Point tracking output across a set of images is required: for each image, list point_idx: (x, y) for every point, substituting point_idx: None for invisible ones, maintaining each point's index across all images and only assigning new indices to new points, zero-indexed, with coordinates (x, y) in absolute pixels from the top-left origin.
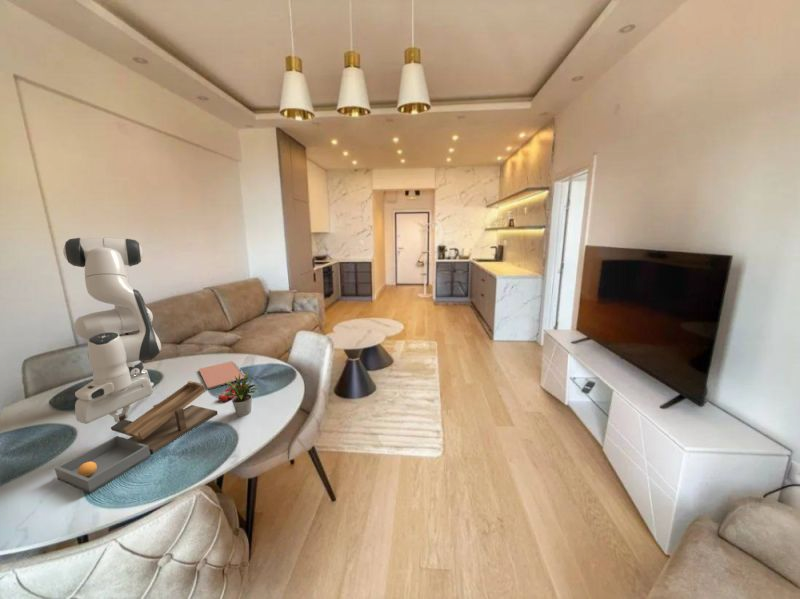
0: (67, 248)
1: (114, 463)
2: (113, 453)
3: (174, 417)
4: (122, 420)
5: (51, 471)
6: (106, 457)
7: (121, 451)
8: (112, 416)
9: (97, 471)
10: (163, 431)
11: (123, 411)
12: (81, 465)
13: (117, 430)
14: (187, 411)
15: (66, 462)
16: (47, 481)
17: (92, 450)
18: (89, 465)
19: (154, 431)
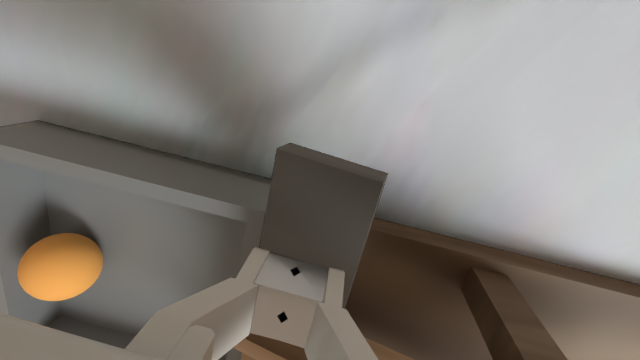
0: None
1: (168, 286)
2: (215, 225)
3: (553, 315)
4: (362, 195)
5: (48, 7)
6: (185, 218)
7: (236, 250)
8: (214, 290)
9: (114, 262)
10: (397, 343)
11: (323, 343)
12: (20, 273)
13: (267, 225)
14: (628, 345)
15: (5, 153)
16: (13, 78)
17: (124, 189)
18: (43, 299)
19: (394, 303)
